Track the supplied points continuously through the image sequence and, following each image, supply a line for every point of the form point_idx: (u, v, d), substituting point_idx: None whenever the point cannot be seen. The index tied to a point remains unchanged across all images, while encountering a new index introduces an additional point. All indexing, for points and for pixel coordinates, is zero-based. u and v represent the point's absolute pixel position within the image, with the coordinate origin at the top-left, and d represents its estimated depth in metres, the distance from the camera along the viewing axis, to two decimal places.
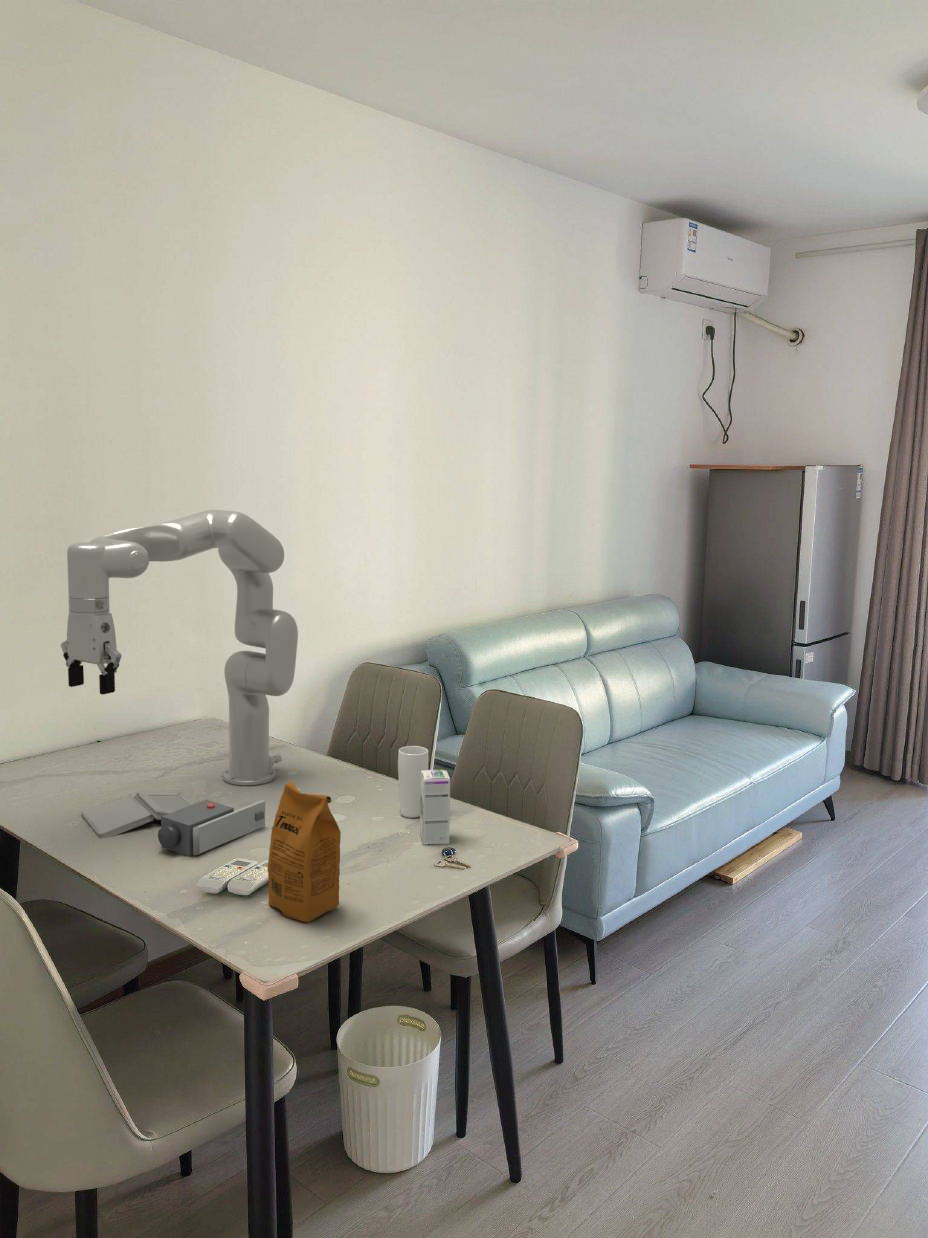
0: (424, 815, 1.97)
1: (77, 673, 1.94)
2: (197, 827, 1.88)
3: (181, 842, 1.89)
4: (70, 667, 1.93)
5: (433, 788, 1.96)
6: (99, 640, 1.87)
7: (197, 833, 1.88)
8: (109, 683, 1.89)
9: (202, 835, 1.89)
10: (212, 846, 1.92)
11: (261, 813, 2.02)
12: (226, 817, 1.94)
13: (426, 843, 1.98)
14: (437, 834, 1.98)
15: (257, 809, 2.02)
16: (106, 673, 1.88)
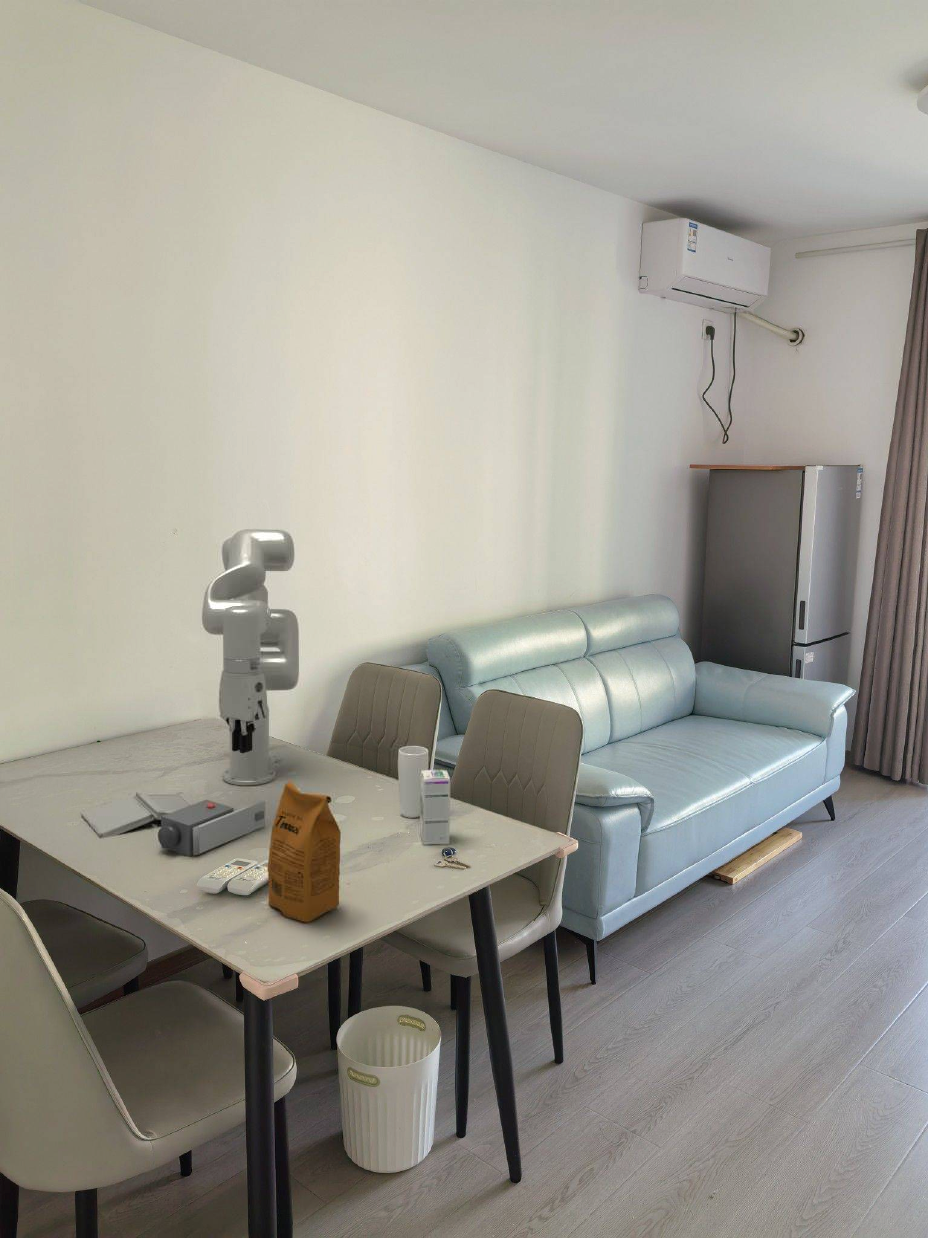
0: (424, 815, 1.97)
1: None
2: (197, 827, 1.88)
3: (181, 842, 1.89)
4: (234, 732, 2.00)
5: (433, 788, 1.96)
6: (254, 699, 1.95)
7: (197, 833, 1.88)
8: (248, 742, 1.99)
9: (202, 835, 1.89)
10: (212, 846, 1.92)
11: (261, 813, 2.02)
12: (226, 817, 1.94)
13: (426, 843, 1.98)
14: (437, 834, 1.98)
15: (257, 809, 2.02)
16: (246, 733, 1.98)
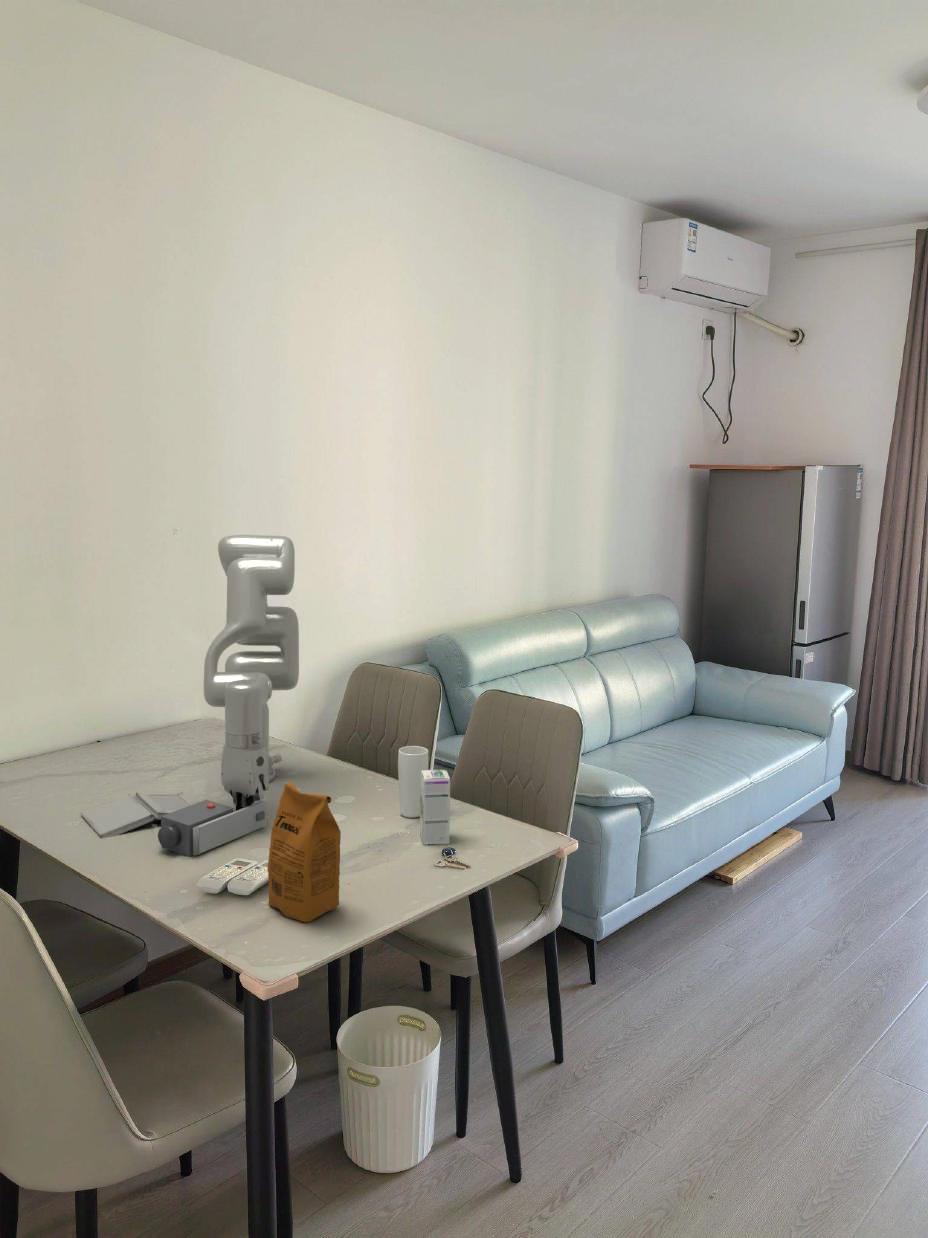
0: (424, 815, 1.97)
1: None
2: (197, 827, 1.88)
3: (181, 842, 1.89)
4: (237, 805, 2.02)
5: (433, 788, 1.96)
6: (255, 774, 1.98)
7: (197, 833, 1.87)
8: None
9: (202, 835, 1.89)
10: (212, 846, 1.92)
11: (262, 813, 2.02)
12: (226, 817, 1.94)
13: (426, 843, 1.98)
14: (437, 834, 1.98)
15: (258, 809, 2.02)
16: (246, 805, 2.01)
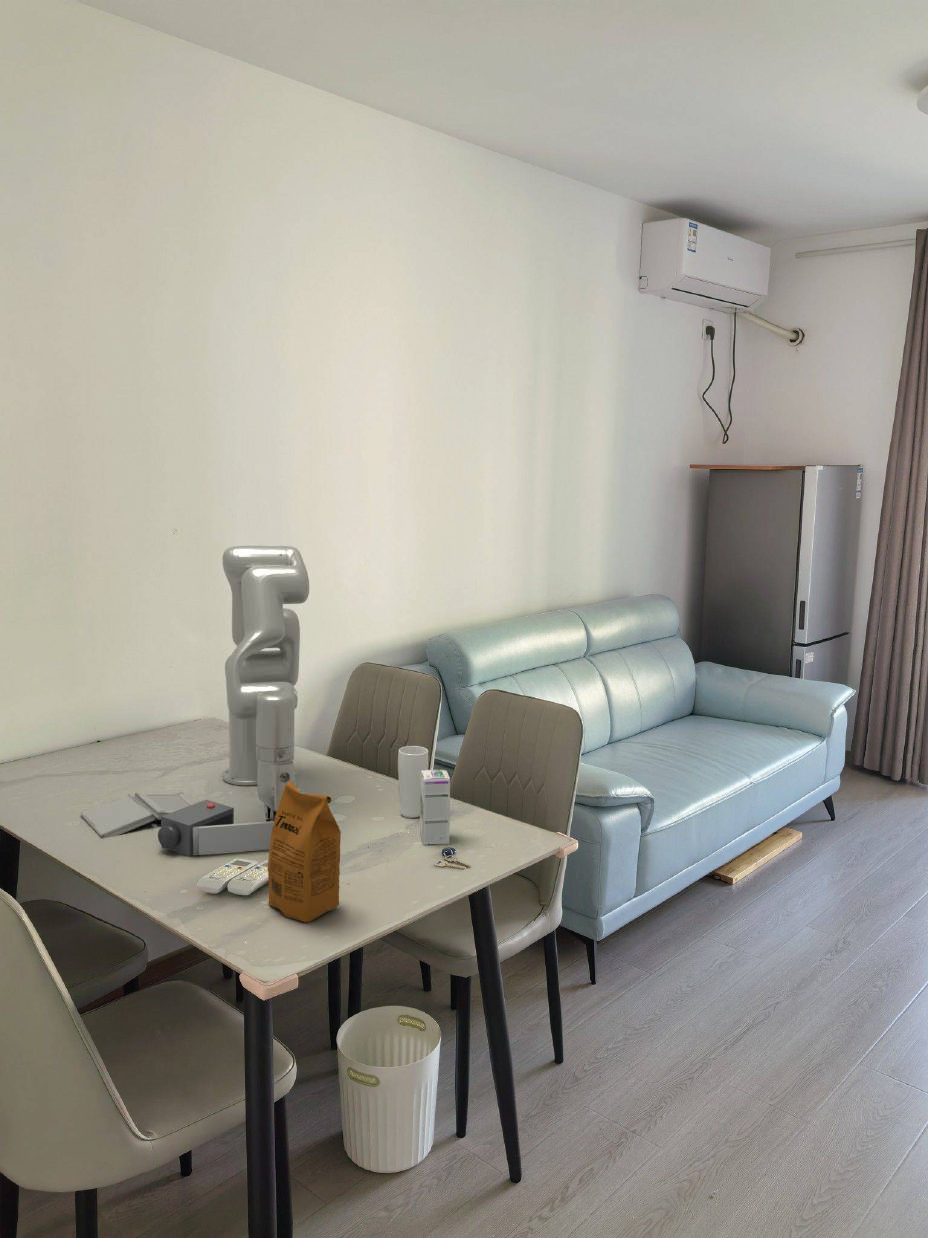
0: (424, 815, 1.97)
1: None
2: (197, 827, 1.88)
3: (181, 842, 1.89)
4: (268, 819, 1.95)
5: (433, 788, 1.96)
6: (278, 790, 1.89)
7: (195, 833, 1.87)
8: None
9: (202, 837, 1.88)
10: (216, 851, 1.89)
11: None
12: (236, 826, 1.90)
13: (426, 843, 1.98)
14: (437, 834, 1.98)
15: None
16: None
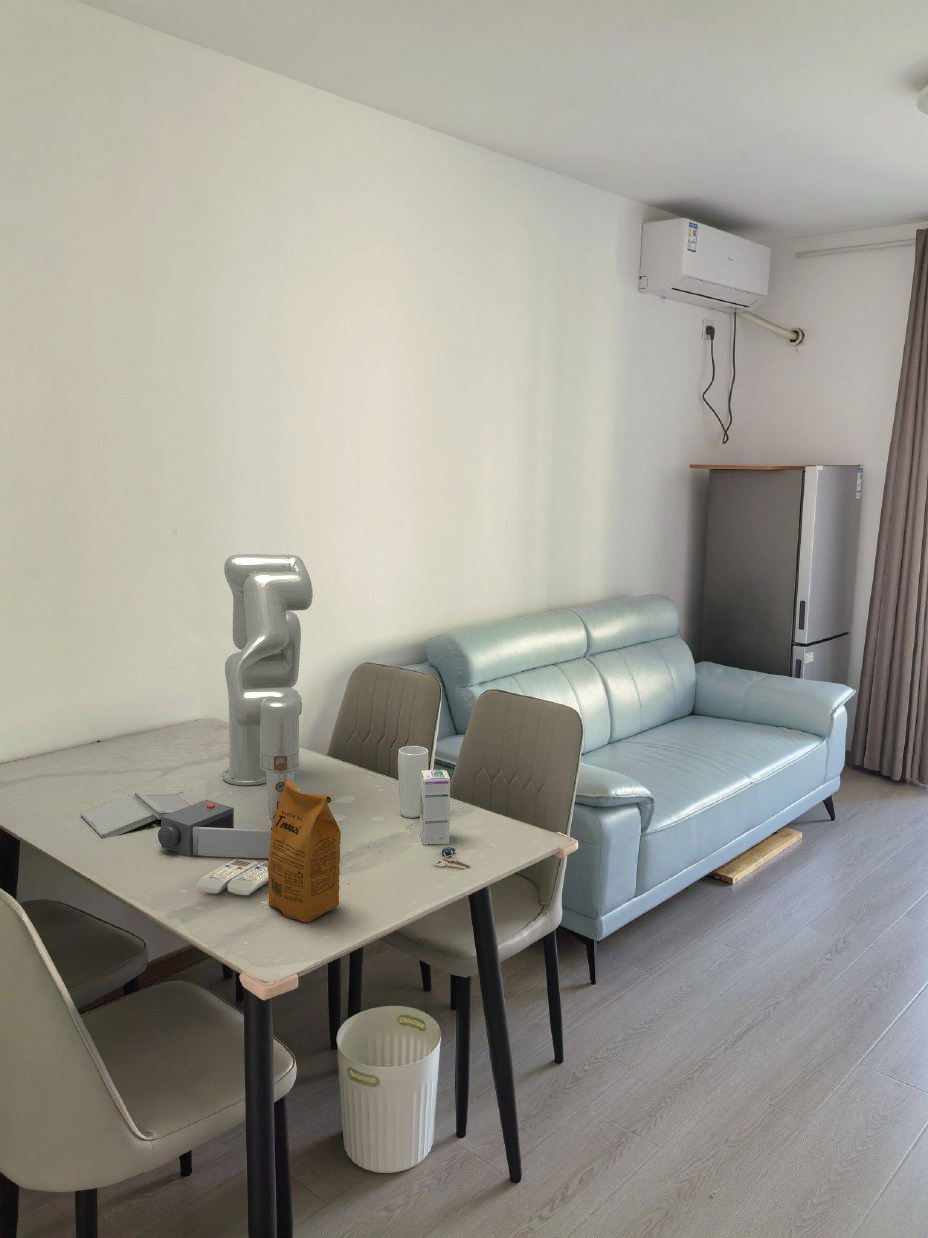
0: (424, 815, 1.97)
1: None
2: (197, 828, 1.88)
3: (181, 842, 1.89)
4: None
5: (433, 788, 1.96)
6: (272, 799, 1.84)
7: (194, 833, 1.87)
8: None
9: (202, 838, 1.88)
10: (215, 854, 1.88)
11: None
12: (234, 831, 1.87)
13: (426, 843, 1.98)
14: (437, 834, 1.98)
15: None
16: None
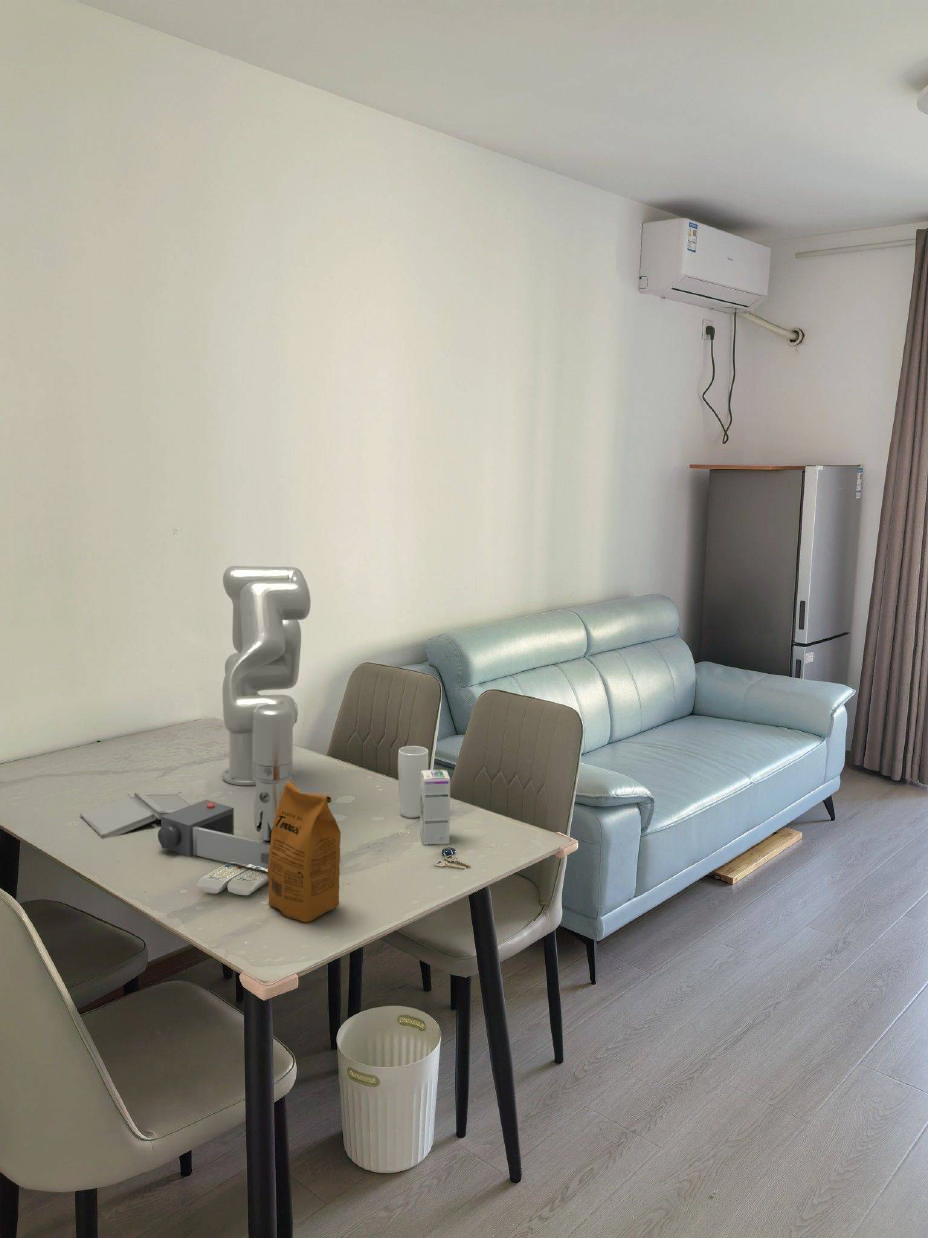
0: (424, 815, 1.97)
1: None
2: (196, 828, 1.87)
3: (181, 842, 1.89)
4: None
5: (433, 788, 1.96)
6: (256, 808, 1.79)
7: (193, 833, 1.87)
8: None
9: (200, 839, 1.87)
10: (211, 857, 1.87)
11: (266, 856, 1.81)
12: (227, 836, 1.84)
13: (426, 843, 1.98)
14: (437, 834, 1.98)
15: (265, 850, 1.81)
16: (264, 841, 1.83)
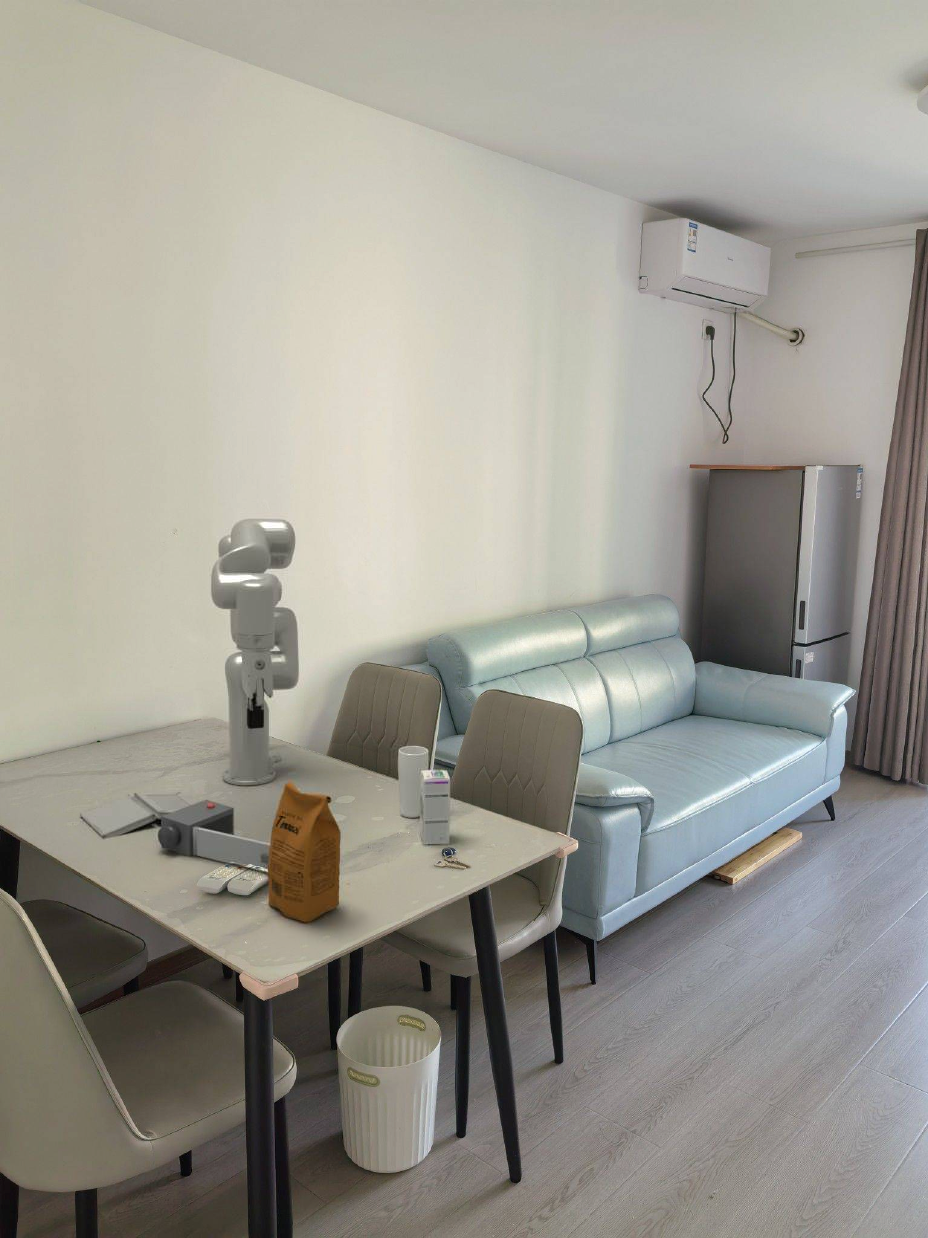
0: (424, 815, 1.97)
1: None
2: (196, 828, 1.87)
3: (181, 842, 1.89)
4: (249, 708, 1.96)
5: (433, 788, 1.96)
6: (252, 676, 1.90)
7: (193, 833, 1.87)
8: (255, 719, 1.95)
9: (200, 839, 1.87)
10: (211, 857, 1.87)
11: (266, 856, 1.81)
12: (227, 836, 1.84)
13: (426, 843, 1.98)
14: (437, 834, 1.98)
15: (265, 850, 1.81)
16: (252, 709, 1.94)
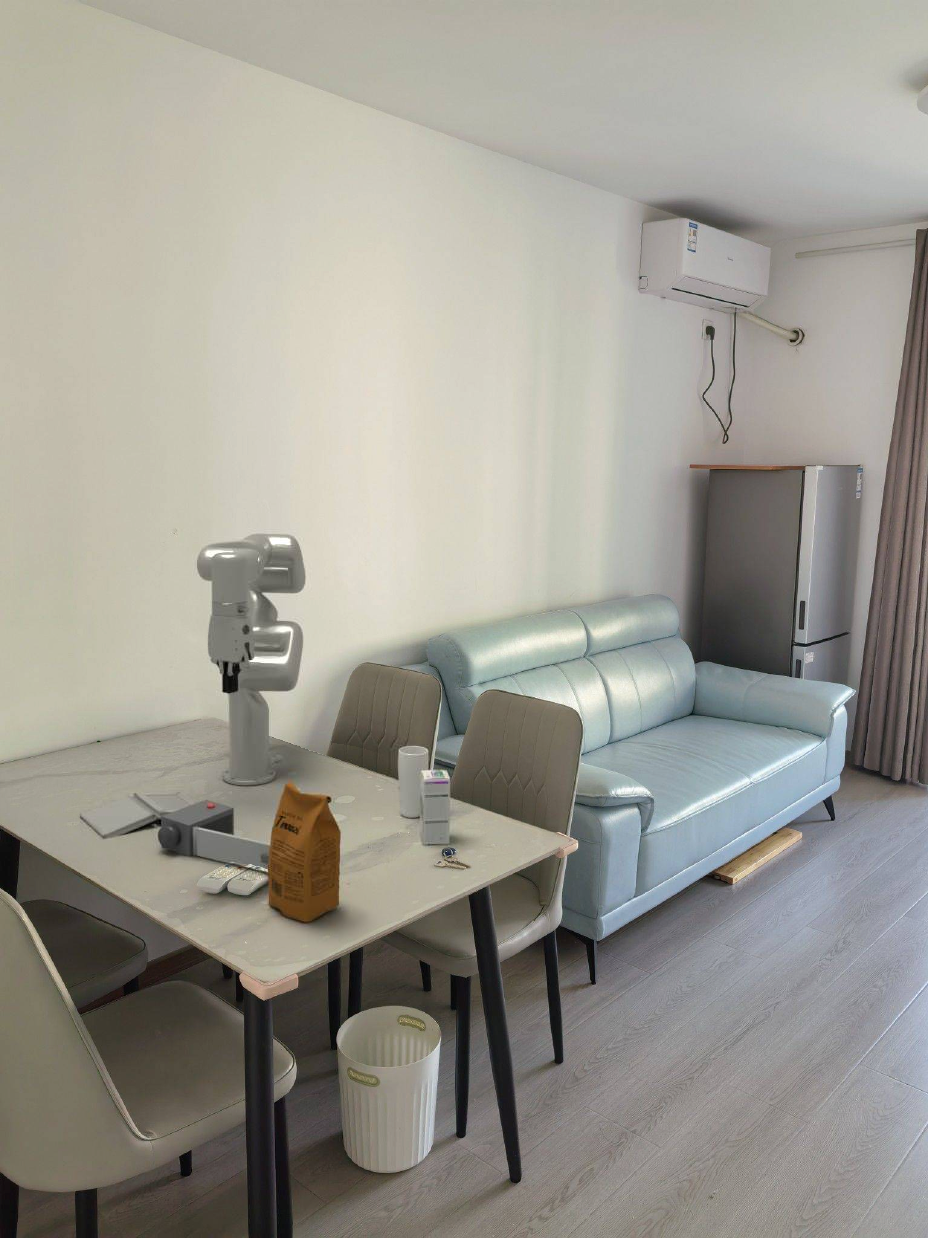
0: (424, 815, 1.97)
1: None
2: (196, 828, 1.87)
3: (181, 842, 1.89)
4: (224, 674, 2.08)
5: (433, 788, 1.96)
6: (241, 641, 2.04)
7: (193, 833, 1.87)
8: (234, 683, 2.08)
9: (200, 839, 1.87)
10: (211, 857, 1.87)
11: (266, 856, 1.81)
12: (227, 836, 1.84)
13: (426, 843, 1.98)
14: (437, 834, 1.98)
15: (265, 850, 1.81)
16: (232, 674, 2.07)
